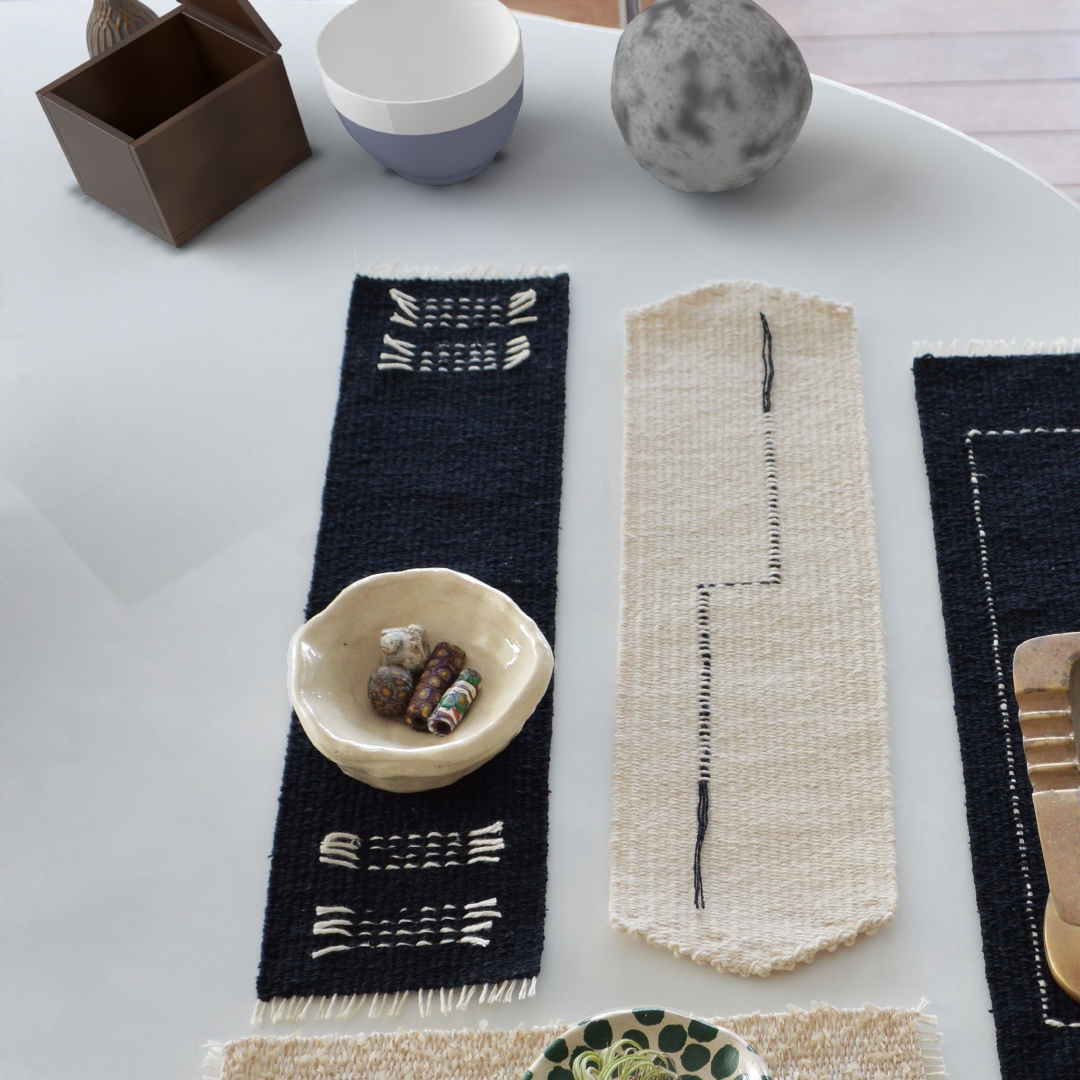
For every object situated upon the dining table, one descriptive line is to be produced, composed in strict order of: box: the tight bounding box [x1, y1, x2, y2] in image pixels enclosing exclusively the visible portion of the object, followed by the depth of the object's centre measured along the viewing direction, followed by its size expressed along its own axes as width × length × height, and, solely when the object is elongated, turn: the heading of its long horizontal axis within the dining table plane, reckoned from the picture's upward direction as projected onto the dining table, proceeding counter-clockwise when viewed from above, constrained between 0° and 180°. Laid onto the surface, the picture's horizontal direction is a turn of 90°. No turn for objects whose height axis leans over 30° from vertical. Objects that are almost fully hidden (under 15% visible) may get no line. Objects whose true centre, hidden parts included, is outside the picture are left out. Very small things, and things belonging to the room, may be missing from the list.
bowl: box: [314, 0, 525, 186], centre depth 116 cm, size 16×16×10 cm
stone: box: [610, 0, 814, 194], centre depth 111 cm, size 15×16×15 cm
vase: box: [85, 0, 161, 60], centre depth 121 cm, size 7×7×9 cm
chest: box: [34, 3, 313, 248], centre depth 115 cm, size 15×12×9 cm
